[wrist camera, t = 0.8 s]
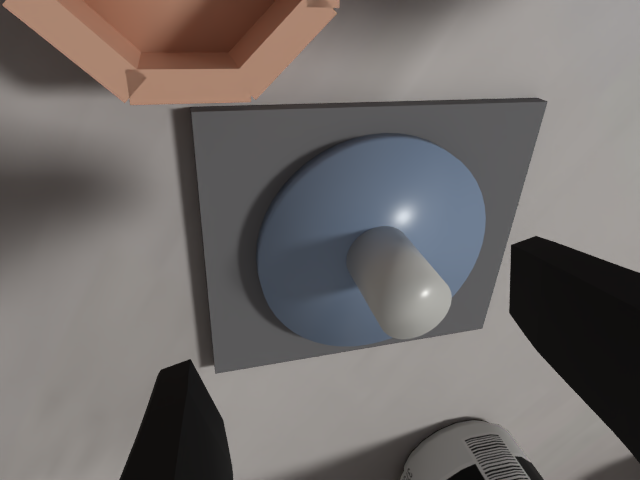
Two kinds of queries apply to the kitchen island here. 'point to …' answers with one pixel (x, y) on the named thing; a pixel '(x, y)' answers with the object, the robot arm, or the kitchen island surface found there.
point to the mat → (303, 145)
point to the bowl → (178, 43)
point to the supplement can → (470, 455)
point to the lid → (370, 240)
